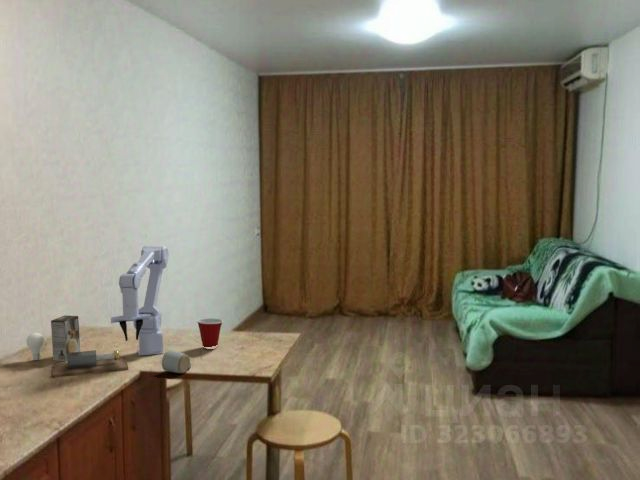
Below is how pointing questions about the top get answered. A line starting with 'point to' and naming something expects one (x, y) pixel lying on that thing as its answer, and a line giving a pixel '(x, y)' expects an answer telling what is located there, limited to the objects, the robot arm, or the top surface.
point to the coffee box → (65, 337)
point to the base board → (102, 366)
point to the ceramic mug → (175, 362)
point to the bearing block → (81, 360)
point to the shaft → (108, 356)
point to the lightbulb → (35, 344)
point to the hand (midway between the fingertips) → (131, 339)
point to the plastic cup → (209, 331)
